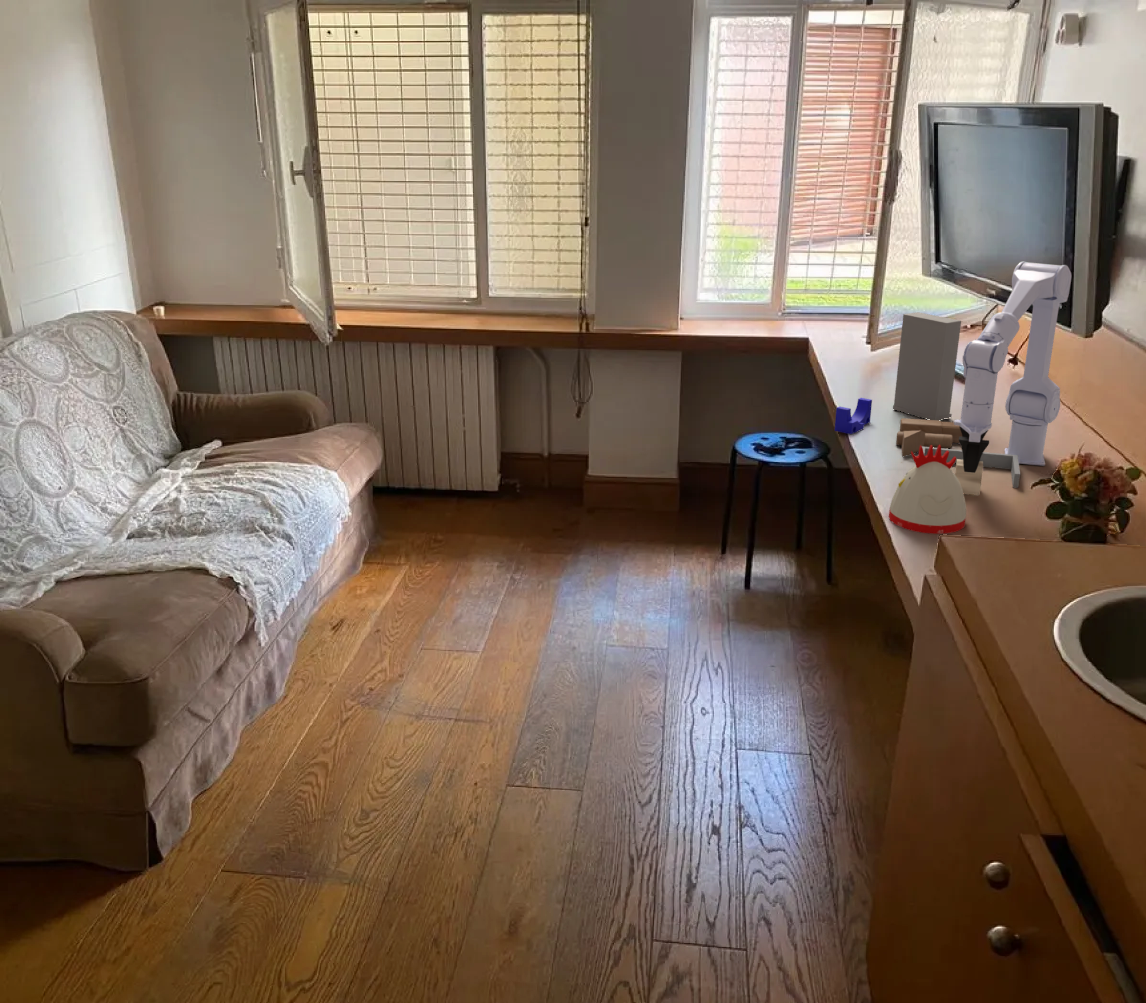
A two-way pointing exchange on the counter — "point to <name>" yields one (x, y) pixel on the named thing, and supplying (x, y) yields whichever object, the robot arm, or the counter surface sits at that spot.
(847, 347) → the counter surface
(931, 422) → the wooden block set
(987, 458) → the grey open bracket
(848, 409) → the cable clip
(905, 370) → the tall grey upright block
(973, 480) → the birch block
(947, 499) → the kitchen timer
